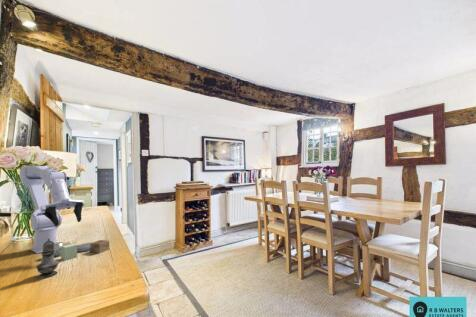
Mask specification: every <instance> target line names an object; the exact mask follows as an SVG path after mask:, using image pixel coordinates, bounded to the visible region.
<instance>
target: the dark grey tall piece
mask: <svg viewBox="0 0 476 317" xmlns="http://www.w3.org/2000/svg"><path fill="white" fill-rule="evenodd" d="M54 252H55V251H54V242H53V241H50V239H48V241H47V242H45V243H44V244H43V252H41V253H40V254H41V255H42V258H41V262H40V263H39V264H37V265H36V266H35V268H36V270H37V272H38V273H39V274H38V275H37V276H36V279H38V280H40V279H41V280H43V279H44V280H45V279H48V278H52V277H54V276H55V275H57V274H58V271H56V269H57V267H58V266H59V265H58V264H59V263H60V261H59V260H55V258H54Z"/></svg>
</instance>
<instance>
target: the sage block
mask: <svg viewBox="0 0 476 317" xmlns="http://www.w3.org/2000/svg"><path fill="white" fill-rule="evenodd" d="M77 245H78V244H76V243H70V244H68V245H64V246H62V248H61V256H60V259H61V260H62V261H69V260H73V259H76V258H78V252H77Z"/></svg>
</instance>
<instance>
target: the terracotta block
mask: <svg viewBox="0 0 476 317" xmlns="http://www.w3.org/2000/svg"><path fill="white" fill-rule="evenodd" d="M62 242H63V246H64V245H68V244H71V242H70V241H69V240H68V241H62Z"/></svg>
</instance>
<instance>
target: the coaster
mask: <svg viewBox="0 0 476 317" xmlns="http://www.w3.org/2000/svg"><path fill="white" fill-rule="evenodd" d="M90 243H91V242H87V243H81V244H76V245H77V253H85V252H87V253H88V252H90Z"/></svg>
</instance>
